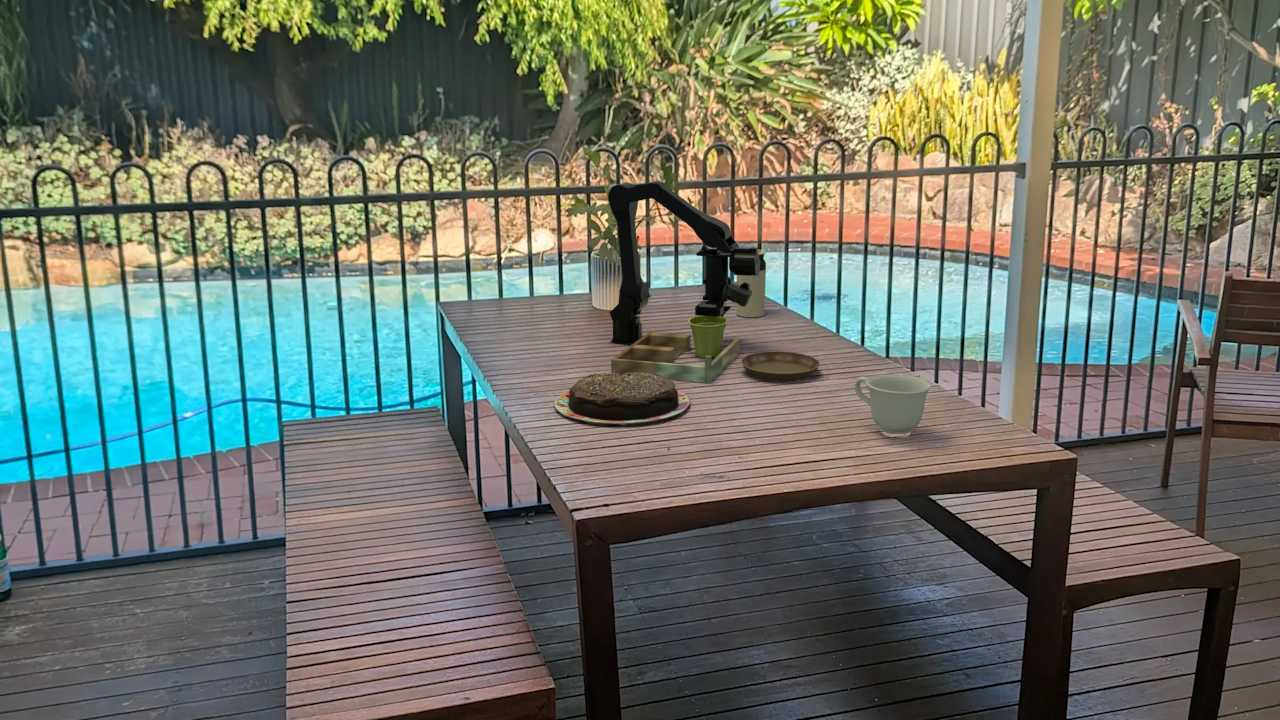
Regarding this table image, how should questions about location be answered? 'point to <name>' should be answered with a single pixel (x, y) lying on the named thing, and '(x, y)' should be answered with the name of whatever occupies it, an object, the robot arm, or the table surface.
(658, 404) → the chocolate cake
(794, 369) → the plant saucer
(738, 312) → the travel mug
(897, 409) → the teacup
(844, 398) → the table surface
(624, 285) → the robot arm
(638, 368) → the compartment box
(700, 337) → the plant pot
